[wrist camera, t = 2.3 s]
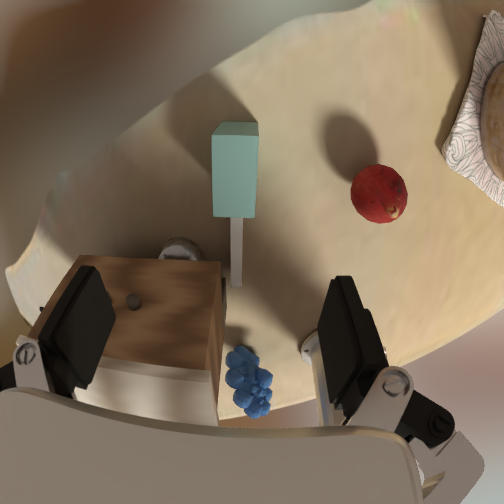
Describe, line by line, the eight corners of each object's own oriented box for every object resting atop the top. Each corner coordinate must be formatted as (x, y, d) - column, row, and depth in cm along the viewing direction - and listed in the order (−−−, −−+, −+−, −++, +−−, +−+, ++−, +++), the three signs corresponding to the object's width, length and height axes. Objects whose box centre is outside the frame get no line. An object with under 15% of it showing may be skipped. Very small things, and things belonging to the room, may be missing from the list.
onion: (364, 144, 26) (398, 169, 20) (398, 176, 28) (433, 208, 21) (332, 185, 29) (354, 221, 22) (367, 212, 31) (393, 252, 24)
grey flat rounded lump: (199, 237, 33) (196, 248, 31) (202, 270, 36) (200, 282, 34) (160, 236, 33) (154, 247, 31) (165, 268, 36) (161, 280, 34)
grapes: (288, 360, 48) (292, 420, 38) (256, 370, 50) (256, 428, 40) (252, 327, 42) (251, 396, 33) (218, 340, 45) (211, 405, 35)
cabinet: (228, 228, 32) (208, 379, 17) (230, 309, 40) (220, 436, 25) (92, 225, 32) (12, 339, 17) (116, 301, 40) (73, 407, 24)
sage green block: (257, 122, 25) (258, 136, 20) (251, 271, 36) (250, 312, 30) (221, 121, 25) (211, 135, 20) (223, 270, 36) (218, 311, 30)
